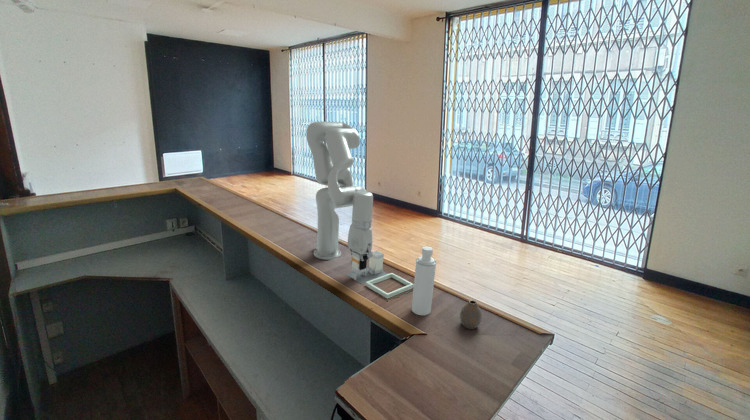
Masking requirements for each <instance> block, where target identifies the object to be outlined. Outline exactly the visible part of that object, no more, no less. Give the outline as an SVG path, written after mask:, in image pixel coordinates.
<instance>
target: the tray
mask: <svg viewBox="0 0 750 420" xmlns="http://www.w3.org/2000/svg"><path fill="white" fill-rule="evenodd" d="M391 278H392V279H394V280H396V281H398V282H399V283H401V284H403V285H405V286H402V287H400V288H397V289H394V290H392V291H391V292H386V291H384V290H383V289H381V288H380V287H378V286H376V285H375V284H378V283H380V282H383V281H386V280H387V279H391ZM365 287H367V288H368V289H370V290H372V291H374V292H375V293H377V294H378V295H380V296H382V297H383V298H385V299H387V300H391V299H393V298H396V297H398V298H400V297H399V296H401V297H402V295H403V296H405V295H408V294H410V293H413V288H414V282H413V283H412V282H411V281H408V280H407V279H405V278H403V277H401V276H400V275H397V274H395V273H393V272H390V273H388V274H387V275H384V276H381V277H378V278H376V279H373V280H370V281H367V282H365ZM411 289H412V290H411ZM404 292H405V293H404ZM402 293H403V294H402ZM407 293H408V294H407ZM390 298H391V299H390ZM396 299H397V298H396ZM391 301H392V300H391Z"/></svg>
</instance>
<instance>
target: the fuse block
mask: <svg viewBox="0 0 750 420" xmlns="http://www.w3.org/2000/svg"><path fill="white" fill-rule="evenodd" d="M373 270H374V269H372V268H370V267H369V266H366V271H365V272H362V273H359V274H357V273H356V272H354V271H351V272H348V273H345V276H347V277H349V278H350V279H352V280H353V281H355V282H358V283H359V284H360V285H362V284H364V283H365V284H366V282H367V281H370V280H373V279H376V278H378V277H381V276H384V275H387V274H389V273H388V272H386V271H384V270H383V272H381V273H378V274H374V273H373Z"/></svg>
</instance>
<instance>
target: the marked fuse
mask: <svg viewBox="0 0 750 420" xmlns="http://www.w3.org/2000/svg"><path fill="white" fill-rule="evenodd" d="M364 256H365V254H364ZM360 260H361V255H360V254H358V253H357V252H355V251H352V255H351V269H350V270H351V272H356V273H357V274H359V273H362V272H365V271H366V269H363V270H359V264H360Z"/></svg>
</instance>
